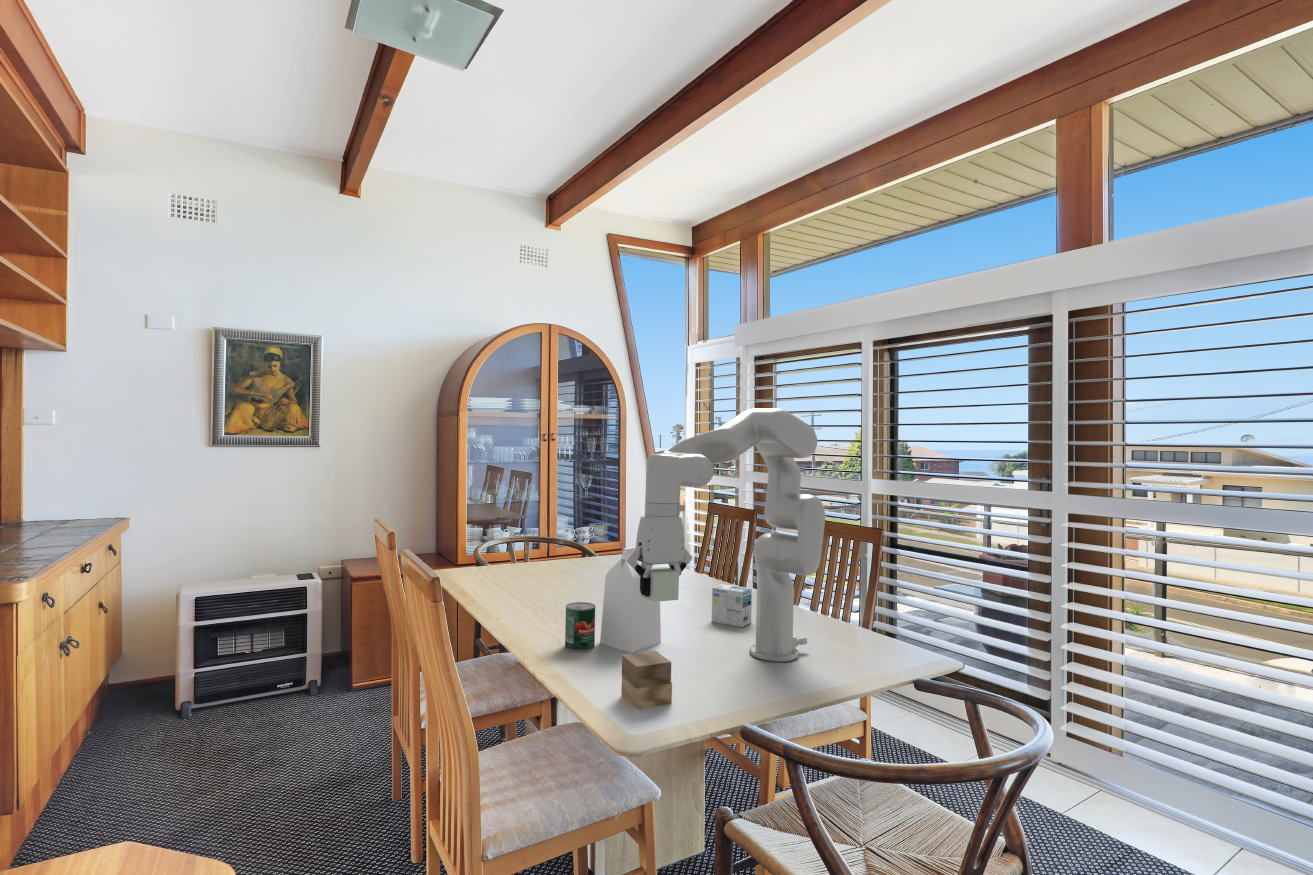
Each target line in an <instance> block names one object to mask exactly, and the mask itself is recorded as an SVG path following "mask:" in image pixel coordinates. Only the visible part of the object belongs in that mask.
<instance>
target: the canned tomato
mask: <svg viewBox="0 0 1313 875" xmlns="http://www.w3.org/2000/svg"><path fill="white" fill-rule="evenodd" d="M596 606H597V605H596V604H594V603H592V602H586V601H581V602H580V601H578V602H577V601H576V602H570V603H567V604H565V624H564V626H565V628H564V629H565V630H564V632H565V633H564V635H565V636H564V648H565V650H567V651H570V652H581V653H582V652H588V651H591V650H594V649H595V648H596V646H595V644H596V642H595V641H596V639H595V638H596V637H595V635H596V634H595V633H596V632H595V631H596Z"/></svg>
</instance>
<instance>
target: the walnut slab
mask: <svg viewBox="0 0 1313 875" xmlns="http://www.w3.org/2000/svg"><path fill="white" fill-rule="evenodd" d="M622 676H623V677H624V678H625V679H626V680H627V681H628V682H629V683H630V684H631V685H632V686H634V687H635V688H636V689H637V688H643V687H650V686H657V685H664V684H671V682H672V661H670V660H669V659H668V658H666V657H665V656H664V655H662V654H661V653H659V652H658V651H656V650H650V651H645V652H644V651H643V652H632V653H627V654H622V655H621V677H622Z"/></svg>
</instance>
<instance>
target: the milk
mask: <svg viewBox="0 0 1313 875" xmlns="http://www.w3.org/2000/svg"><path fill="white" fill-rule="evenodd" d="M635 549H636V545H635V546H629V547H624V548H623V551H622V555H621V556H620V557H621V558H620V560H618V561H617V562H616V563H614V565H613V566H612V567H611V568H610V569H609V570H608V571H607V573H606V574H605V578H604V579H605V581H604V589H603V590H604V591H603V600H602V601H603V602H602V616H601V628H600V637H599V638H600V641H599V643H600V644H602V645H605V646H608V647H612V648H616V649H617V650H622V651H624V652H629V653H630V654H633V653H636V652H638V651H640V650H641V651H642V650H643V649H646V648H649V647H653V646H655V645H657V644H660V643H661V644H662V638H661V637H662V631H661V630H662V629H661V628H662V627H661V601H660V602H652V601H650V600H648V599H646V598H644V597H642V596H641V591H640V576H639V575H638V573H637V572H636V571H635V570H634V569H633V567H632V566H631V565H630V564H629V563H628V562H627V559H628V558H629V557H630V556H631V555H632V553H633V552H634V551H635ZM637 563H638V564H639V565H640V566H641V563H642V562H640V561H637ZM652 568H655V566H654V565H653V566H652Z"/></svg>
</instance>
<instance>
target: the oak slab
mask: <svg viewBox="0 0 1313 875" xmlns="http://www.w3.org/2000/svg"><path fill="white" fill-rule="evenodd" d="M672 696H673V682H672V681H671V684H664V685H657V686H650V687H643V688H637V689H636V688H635V687H634V686H632V685H631V684H630V683H629V682H628V681H627V680H626V679H625V678H624V677H623V676H622V675H621V697H622V698H623V699H624V700H625V701H626V702H628V703H629V705H631V706H633V707H634V708H635V709H636V710H637V711H639V710H644V709H649V708H656V707H659V706H665V705H671V704H673V697H672Z"/></svg>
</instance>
